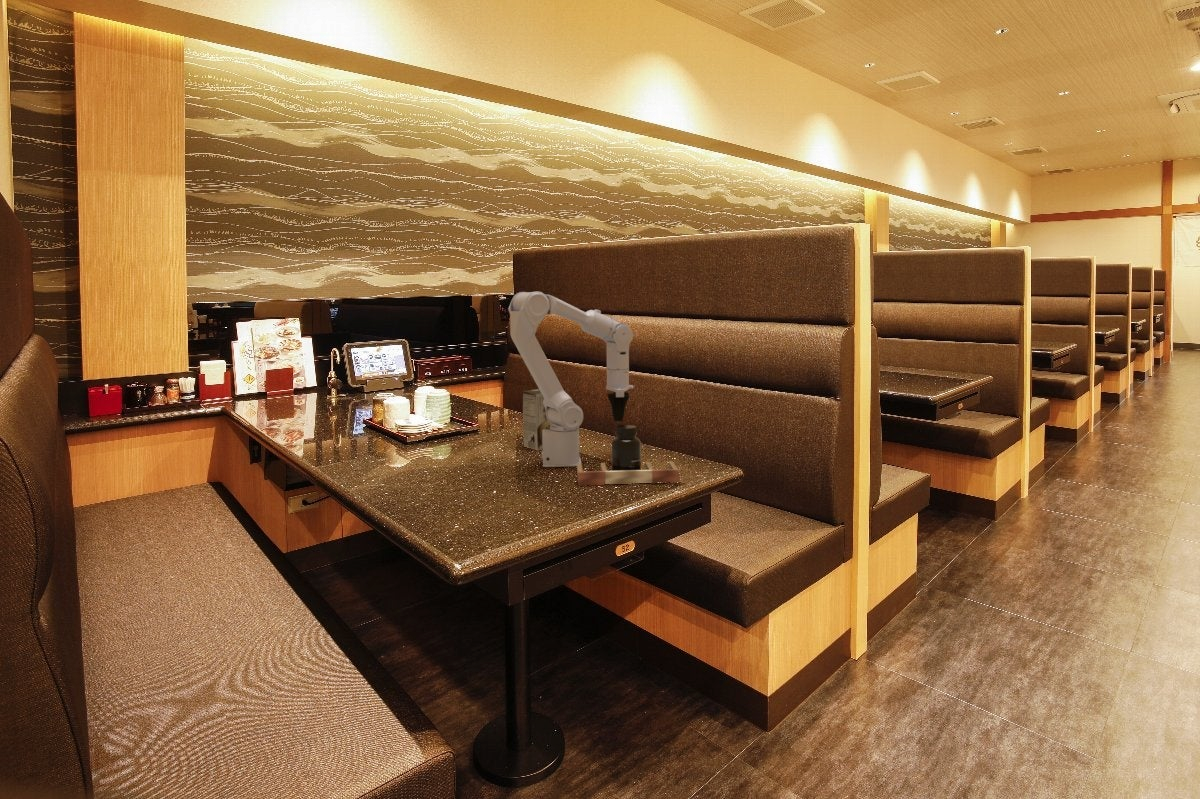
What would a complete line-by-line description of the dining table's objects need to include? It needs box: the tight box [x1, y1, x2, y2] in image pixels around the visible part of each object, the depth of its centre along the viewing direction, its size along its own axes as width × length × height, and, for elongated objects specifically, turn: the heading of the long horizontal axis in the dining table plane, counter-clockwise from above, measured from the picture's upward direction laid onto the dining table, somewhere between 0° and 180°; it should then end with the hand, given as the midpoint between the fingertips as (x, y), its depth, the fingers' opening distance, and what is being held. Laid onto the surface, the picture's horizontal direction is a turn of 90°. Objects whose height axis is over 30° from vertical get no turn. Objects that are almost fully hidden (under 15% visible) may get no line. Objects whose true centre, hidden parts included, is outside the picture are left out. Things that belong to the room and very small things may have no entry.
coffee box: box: [521, 388, 550, 451], centre depth 192 cm, size 9×6×16 cm
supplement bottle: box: [611, 424, 642, 471], centre depth 159 cm, size 7×7×12 cm
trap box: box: [576, 460, 680, 487], centre depth 158 cm, size 22×8×3 cm, turn 93°
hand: (618, 420), depth 180 cm, fingers closed
